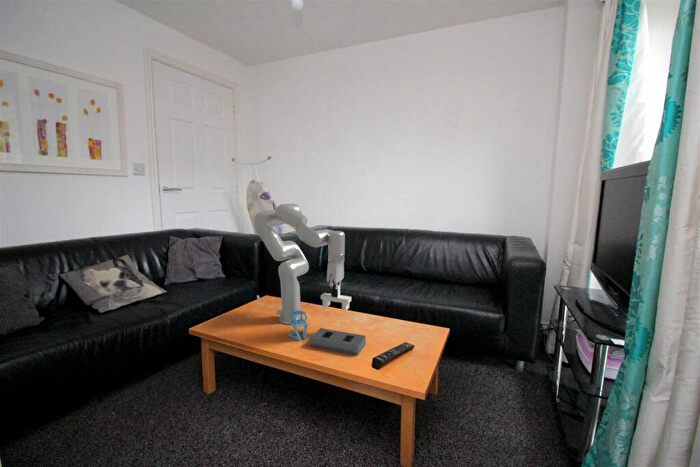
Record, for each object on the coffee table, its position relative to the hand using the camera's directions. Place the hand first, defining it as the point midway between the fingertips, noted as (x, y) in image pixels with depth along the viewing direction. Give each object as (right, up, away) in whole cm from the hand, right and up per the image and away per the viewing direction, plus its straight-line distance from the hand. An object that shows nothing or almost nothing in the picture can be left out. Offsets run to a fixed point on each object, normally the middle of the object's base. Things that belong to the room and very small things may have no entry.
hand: (335, 295), depth 151 cm
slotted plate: (+1, -19, -12) cm, 23 cm away
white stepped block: (0, -6, +1) cm, 6 cm away
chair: (-17, -19, -4) cm, 25 cm away
